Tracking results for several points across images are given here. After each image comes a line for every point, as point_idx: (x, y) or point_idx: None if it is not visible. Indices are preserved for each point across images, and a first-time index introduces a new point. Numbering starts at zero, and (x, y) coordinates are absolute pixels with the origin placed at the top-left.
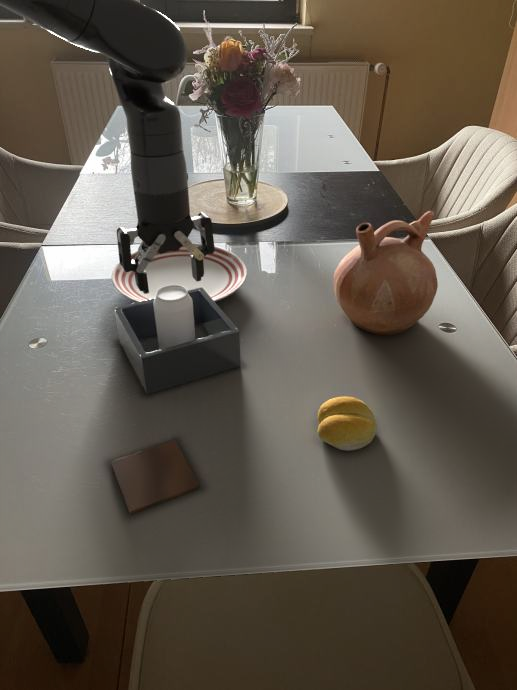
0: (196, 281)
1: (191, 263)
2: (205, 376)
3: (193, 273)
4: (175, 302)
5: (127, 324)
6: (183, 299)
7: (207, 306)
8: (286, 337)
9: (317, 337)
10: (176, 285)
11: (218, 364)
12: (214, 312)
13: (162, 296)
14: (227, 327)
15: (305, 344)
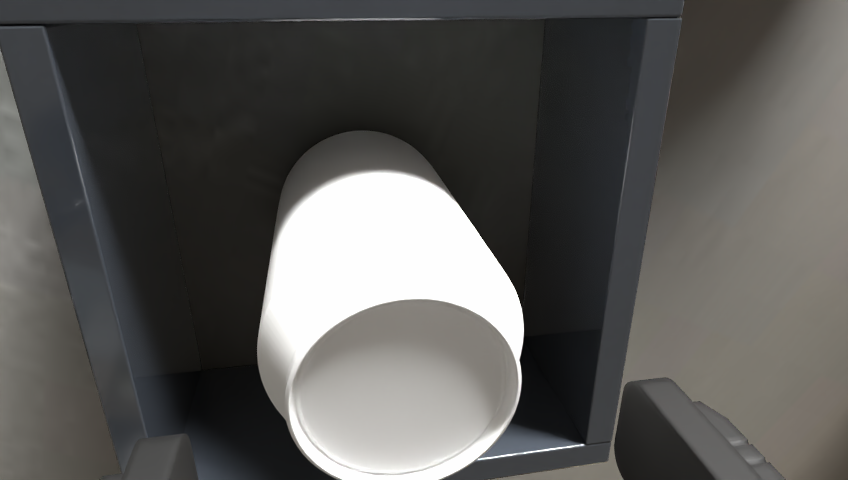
0: (614, 446)
1: (705, 471)
2: None
3: (646, 434)
4: (391, 472)
5: (84, 245)
6: (452, 461)
7: (606, 155)
8: (765, 255)
9: (840, 292)
10: (477, 313)
11: None
12: (601, 258)
13: (326, 408)
14: (584, 397)
15: (783, 313)
